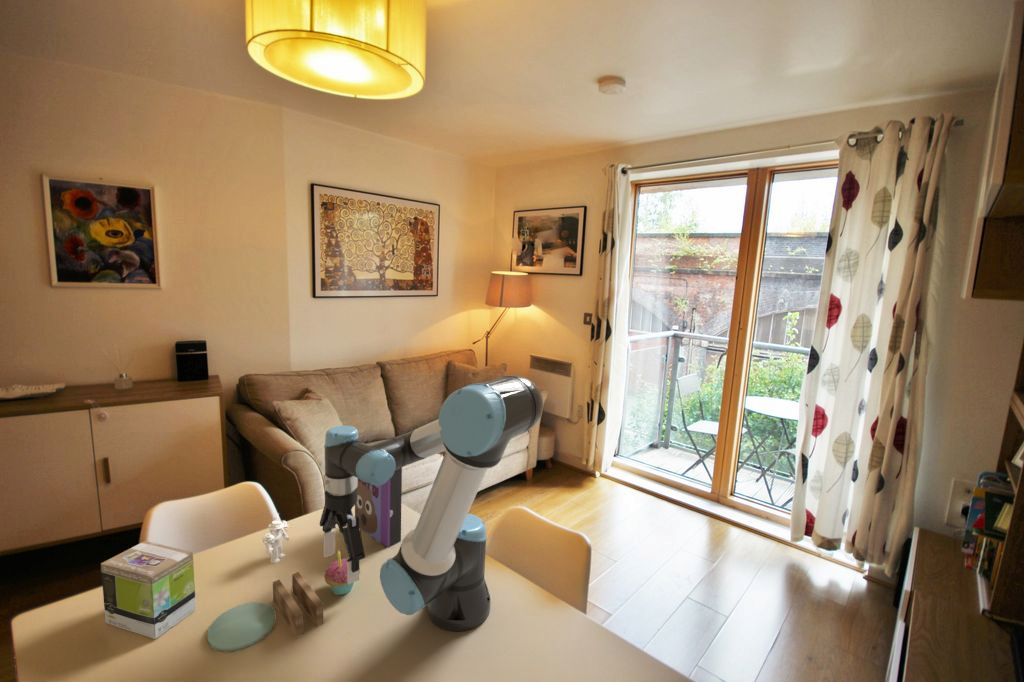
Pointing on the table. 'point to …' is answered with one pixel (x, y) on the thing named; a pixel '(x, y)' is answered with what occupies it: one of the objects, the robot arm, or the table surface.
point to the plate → (241, 626)
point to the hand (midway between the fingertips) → (340, 567)
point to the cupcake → (338, 576)
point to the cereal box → (381, 509)
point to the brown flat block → (307, 599)
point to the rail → (288, 608)
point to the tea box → (148, 588)
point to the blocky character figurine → (276, 539)
